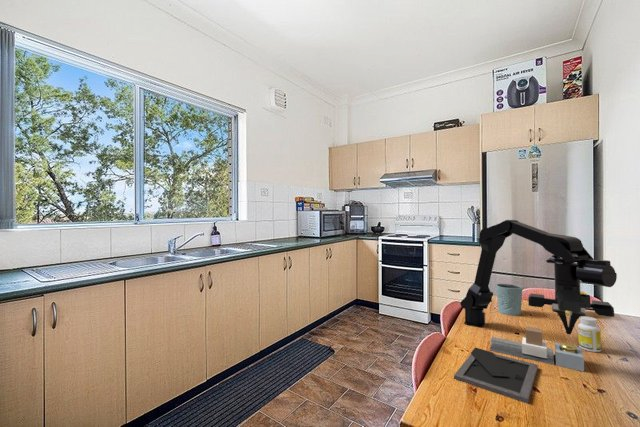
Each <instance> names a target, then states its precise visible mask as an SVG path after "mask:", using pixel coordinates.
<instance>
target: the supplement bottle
mask: <svg viewBox="0 0 640 427" xmlns="http://www.w3.org/2000/svg"><path fill="white" fill-rule="evenodd" d="M579 318H580V322H579V323H578V324H577V336H578V338H577V339H578V347H581V350H585V351H588V352H593V353H601V351H602V336H601V334H602V333H601V331H602V330H601V328H600V326H598V319H596V318H595V317H591V316H587V315H586V316H580V317H579Z"/></svg>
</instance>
